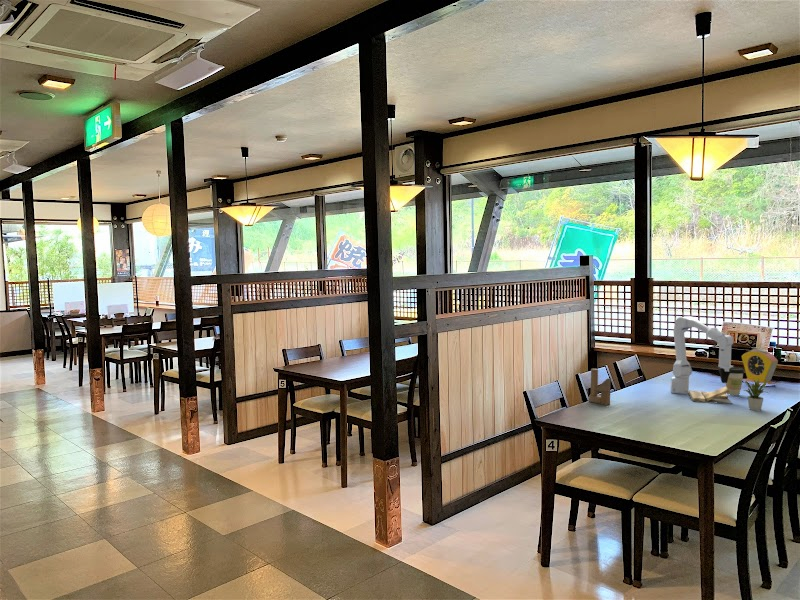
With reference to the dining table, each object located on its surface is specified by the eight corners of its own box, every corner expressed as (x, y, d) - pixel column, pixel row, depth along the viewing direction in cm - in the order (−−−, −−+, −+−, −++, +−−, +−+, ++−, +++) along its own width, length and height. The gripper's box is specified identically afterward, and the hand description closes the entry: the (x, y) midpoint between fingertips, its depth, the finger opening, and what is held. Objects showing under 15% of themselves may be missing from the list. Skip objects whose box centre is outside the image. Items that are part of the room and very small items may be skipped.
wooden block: (606, 405, 316) (607, 371, 315) (588, 401, 325) (589, 368, 323) (610, 404, 319) (611, 370, 317) (592, 400, 327) (593, 368, 326)
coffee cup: (741, 397, 333) (742, 370, 332) (722, 395, 339) (722, 368, 338) (744, 394, 341) (745, 368, 340) (725, 392, 347) (725, 366, 346)
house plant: (778, 414, 297) (779, 381, 296) (747, 412, 300) (748, 380, 299) (766, 407, 311) (767, 376, 310) (737, 406, 314) (738, 375, 313)
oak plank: (707, 400, 323) (706, 398, 323) (705, 397, 331) (703, 395, 332) (729, 392, 319) (728, 389, 319) (726, 388, 328) (725, 386, 328)
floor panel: (693, 401, 325) (693, 397, 325) (688, 393, 343) (688, 390, 343) (732, 404, 318) (732, 400, 318) (725, 396, 337) (726, 392, 337)
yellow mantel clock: (737, 381, 378) (738, 347, 377) (749, 380, 381) (750, 346, 380) (768, 388, 357) (769, 352, 356) (780, 387, 360) (781, 351, 359)
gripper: (735, 360, 315) (735, 385, 316) (730, 355, 328) (730, 380, 329) (720, 359, 317) (720, 384, 318) (716, 355, 331) (715, 379, 332)
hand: (724, 382), depth 324 cm, fingers closed
